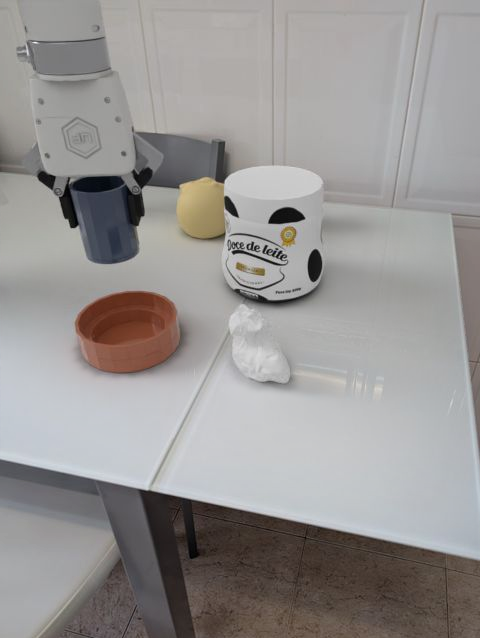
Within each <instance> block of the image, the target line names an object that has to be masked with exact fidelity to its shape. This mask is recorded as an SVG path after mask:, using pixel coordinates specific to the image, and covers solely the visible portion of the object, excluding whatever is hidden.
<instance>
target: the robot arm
mask: <svg viewBox="0 0 480 638" xmlns="http://www.w3.org/2000/svg"><path fill="white" fill-rule="evenodd" d="M17 4H18V6H19V11H20V14H21V19H22V22H23V23H22V24H23V27H24V30H25V34H26V38H27V40H26V41H25V42H26V44H24V45H23V46H16V56H17V59H18V61H19V62H21V63H28V64H30V65H31V66H32V69H33V70H32V71H35V74H32V75H30V76H29V77H28V88H29V98H30V106H31V113H32V118H33V125H34V131H35V136H36V140H37V141H36V142H35V143H34V145H32V147H31V148H30V149H29V150H28V152H27V153H26V154H25V155H24V156H23V158H22V159H21V161H20V164H21V166H22V167H23V168H25V170H27V172H29V173H30V174H31V175H33V176H35V177H36V178H37V180H38V181H39V182H40V183H41V184H43V185H44V186H45V187H47V188H48V189H50V190H51V191H52V194H53V195H54V196H56V197H58V200H59V204H60V209H61V212H62V215H63V218H64V220H67V221H68V225H69V228H70V229H76V228H78V223H77V219H76V215H75V211H74V207H73V203H72V199H71V195H70V191H69V187H68V186H69V184H70V183H71V181H72V178H77V177H93V176H119V175H120V177H121V178H122V179H123V181H124V182H125V184H126V185H127V187H128V188H129V193H128V195H127V199H128V205H129V210H130V216H131V221H132V225H134V226H136V227H139V226H140V223H141V219H142V218H145V216H146V209H145V201H144V197H143V189H144V188H145V186H146V185H147V184H148V183H149V182H150V181H151V179H152V178H153V176H154V175H155V173H156V172H157V171H158V169H159V168H160V167H161V165H162V164H163V162H164V159H165V157H164V154H163V153H162V152H161V151H160V150H158V149H157V148H156V147H154V146H153V145H152V144H151V143H149V142H148V141H147V140H145V139H144V138H143V137H141V136H140V135H139V134H138V133H137V132H136V131H135V126H134V122H133V116H132V114H131V110H130V105H129V102H128V98H127V95H126V92H125V88H124V85H123V82H122V79H121V76H120V74H119V72H118V71H117V70H112V63H111V58H110V52H109V47H108V40H107V35H106V29H105V22H104V18H103V12H102V6H101V0H17ZM139 154H140V155H141V156H143V157H144V158H146V160H147V162H146V164H145V166H144V167H142V169H141V170H140V171H139V172H138V169H136V163H137V161H138V159H139Z"/></svg>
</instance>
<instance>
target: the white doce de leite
mask: <svg viewBox="0 0 480 638" xmlns="http://www.w3.org/2000/svg"><path fill="white" fill-rule="evenodd" d="M223 184H224V203H225V207H224V215H225V225H226V232H225V236H224V243H223V247H222V252H221V267H222V272H223V275H224V279H225V281H226V283H227V284H228V285H229V287H230V288H231V290H233V291H234V292H235V293H237V294H239V295H241V296H243V297H246V298H247V299H250V300H255V301H259V302H265V303H266V302H271V303H281V302H287V301H294V300H296V299H298V298H301V297H304V296H306V295H308V294H310V293H311V292H313V291H314V290H315V289H316V288H317V287H318V286H319V283H320V281H321V280H322V276H323V273H324V269H325V264H326V263H325V262H326V254H325V249H324V243H323V238H322V228H323V219H324V218H323V217H324V202H325V201H324V200H325V186H324V181H323V179H322V178H321V176H320V175H318V174H317V173H315V172H313V171H311V170H308V169H304V168H301V167H296V166H289V165H270V164H269V165H268V164H267V165H259V166H251V167H247V168H243V169H239V170H237V171H235V172H232V173H230V174H229V175H228V176H227V177H226V178H225V179H224V182H223Z"/></svg>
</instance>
